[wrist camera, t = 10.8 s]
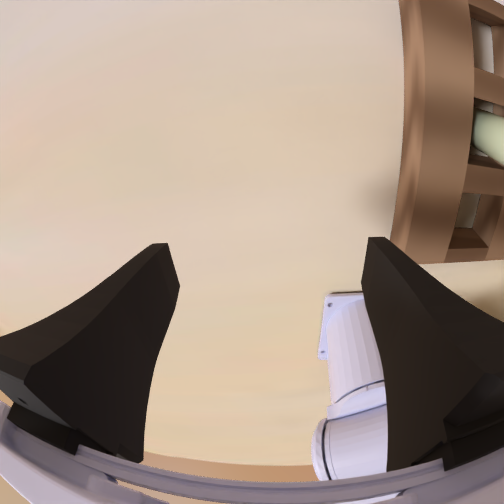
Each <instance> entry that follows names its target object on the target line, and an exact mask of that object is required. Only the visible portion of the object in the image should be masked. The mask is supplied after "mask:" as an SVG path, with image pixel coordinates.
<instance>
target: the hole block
mask: <svg viewBox="0 0 504 504" xmlns="http://www.w3.org/2000/svg"><path fill="white" fill-rule="evenodd" d="M399 6H400V15H401V24H402V36H403V51H404V127H403V143H402V156H401V167H400V176H399V185H398V192H397V200H396V207H395V213H394V220H393V226H392V231H391V237H390V241H391V242H392V243H393V244H394V245H396V246H397V247H398V248H399V249H400V250H402V251H403V252H404V253H405V254H406V255H407V256H409V257H410V258H411V259H412V260H413V261H415V262H416V263H417V264H433V263H452V262H471V261H488V260H503V259H504V165H503V164H501V163H499V162H498V161H496V160H495V159H493V158H491V157H490V156H488V157H485V156H479V155H473V154H469V149H470V141H471V132H472V121H473V105H474V97H475V98H479V99H482V100H485V101H489V102H492V103H493V114H496V115H499V116H501V117H504V6H503V5H501V4H500V3H498V2H496V1H494V0H399ZM470 17H471V18H473V19H476V20H478V21H480V22H483V23H485V24H487V25H489V26H491V30H492V40H493V55H494V74H493V73H490V72H487V71H484V70H482V69H479V68H476V67H474V52H473V38H472V27H471V18H470ZM462 192H464V193H476V194H481V196H480V200H479V205H478V209H477V213H476V216H475V220H474V224H473V227H472V228H454V226H455V222H456V218H457V214H458V210H459V205H460V201H461V196H462Z"/></svg>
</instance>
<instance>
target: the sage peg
mask: <svg viewBox="0 0 504 504" xmlns="http://www.w3.org/2000/svg"><path fill="white" fill-rule="evenodd" d="M470 146H472V147H474V148H476V149H478V150H479V151H481V152H483V153H485V154H486V155H488V156H490V157H491V158H493V159H495V160H496V161H498V162H499V163H501V164H503V165H504V117H501V116H499V115H496V114H493V113H491V112H488V111H485V110H482V109H479V108H476V107H473V121H472V132H471V141H470Z"/></svg>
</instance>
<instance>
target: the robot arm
mask: <svg viewBox="0 0 504 504" xmlns="http://www.w3.org/2000/svg"><path fill="white" fill-rule="evenodd" d="M361 285H362V290H363V293H343V294H329V295H327V296H326V297H325V301H324V310H323V319H322V327H321V335H320V342H319V349H318V359H320V360H327V362H328V372H329V383H330V395H331V404H332V405H330V406H327V418H325V419H322V420H321V421H320V422H319V423H318V425H317V427H316V429H315V431H314V433H313V437H312V443H311V455H312V462H313V467H314V470H315V473H316V475H317V477H318V479H319V480H320V481H311V482H252V481H238V480H227V479H217V478H209V477H202V476H195V475H189V474H183V473H178V472H172V471H168V470H163V469H158V468H154V467H150V466H146V465H142V464H138V463H140V462H141V461H143V452H144V431H145V421H146V412H147V405H148V398H149V392H150V387H151V382H152V377H153V372H154V368H155V364H156V360H157V357H158V354H159V351H160V348H161V346H162V343H163V340H164V337H165V335H166V332H167V329H168V327H169V324H170V321H171V318H172V316H173V313H174V310H175V306H176V302H177V298H178V293H179V288H180V284H179V281H178V277H177V274H176V271H175V267H174V264H173V260H172V257H171V253H170V250H169V246H168V243H157V244H152V245H150V246H148V247H147V248H146V249H144V250H143V251H141V252H140V253H139V254H137V255H136V256H135V257H134V258H132V259H131V260H130V261H128V262H127V263H126V264H125V265H123V266H122V267H121V268H120V269H118V270H117V271H116V272H115V273H113V274H112V275H111V276H109V277H108V278H107V279H105V280H104V281H103V282H101V283H100V284H99V285H97V286H96V287H95V288H94V289H92V290H91V291H89V292H88V293H86V294H85V295H84V296H82V297H80V298H79V299H77V300H76V301H74V302H73V303H71V304H70V305H68V306H66V307H64V308H63V309H61V310H59V311H57V312H56V313H54V314H52V315H50V316H48V317H47V318H45V319H43V320H41V321H38V322H36V323H34V324H32V325H30V326H28V327H25V328H23V329H21V330H18V331H15V332H13V333H10V334H7V335H4V336H2V337H0V390H1V391H2V392H3V393H5V394H6V395H7V396H8V397H9V398H10V399H11V400H12V401H13V402H14V403H13V405H12V407H10V406H8V405H7V404H5V403H4V402H2V401H0V475H1V476H2V477H3V478H4V479H5V480H6V481H7V482H8V483H9V484H10V485H11V486H12V487H13V488H14V489H15V490H16V491H17V492H18V493H20V494H21V495H22V496H23V497H24V498H25V499H26V500H28V501H29V502H30V503H31V504H169V503H168V502H166V501H162V500H159V499H156V498H153V497H150V496H148V495H145V494H143V493H141V492H138V491H135V490H133V489H129V488H127V487H124V486H121V485H118V482H117V481H116V479H117V480H120V481H124V482H127V483H130V484H133V485H136V486H140V487H144V488H147V489H151V490H155V491H159V492H164V493H167V494H172V495H177V496H182V497H187V498H193V499H198V500H205V501H212V502H220V503H229V504H504V322H502V321H500V320H498V319H496V318H494V317H492V316H490V315H488V314H487V313H485V312H483V311H482V310H480V309H478V308H477V307H475V306H473V305H472V304H470V303H469V302H467V301H465V300H464V299H463V298H461V297H460V296H458V295H457V294H455V293H454V292H452V291H451V290H450V289H448V288H447V287H446V286H444V285H443V284H442V283H440V282H439V281H438V280H437V279H435V278H434V277H433V276H431V275H430V274H429V273H428V272H427V271H425V270H424V269H423V268H422V267H420V266H419V265H418V264H417V263H416V262H415V261H413V260H412V259H411V258H410V257H409V256H407V255H406V254H405V253H404V252H403V251H402V250H400V249H399V248H398V247H397V246H396V245H394V244H393V243H392V242H391V241H389V240H388V239H387V238H385V237H368V244H367V251H366V257H365V263H364V269H363V275H362V280H361ZM329 303H331V304H329Z"/></svg>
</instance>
